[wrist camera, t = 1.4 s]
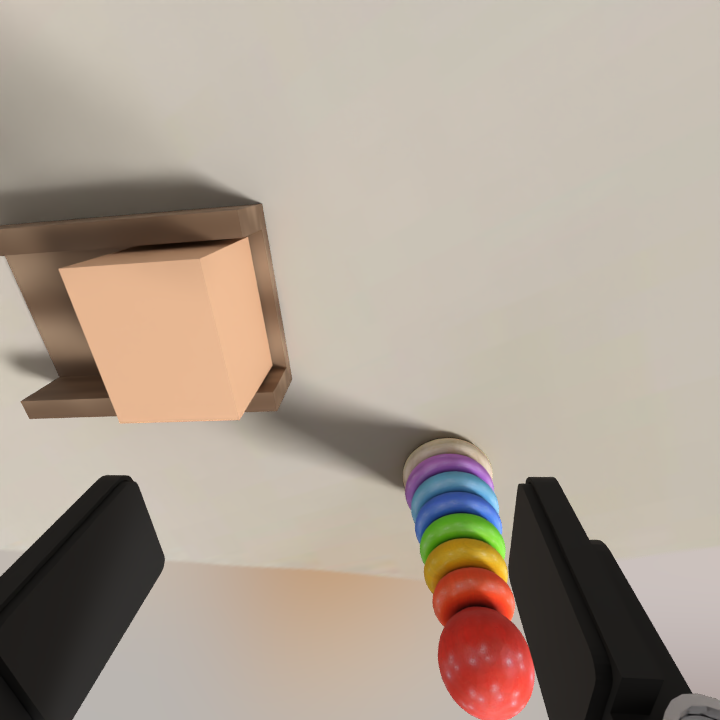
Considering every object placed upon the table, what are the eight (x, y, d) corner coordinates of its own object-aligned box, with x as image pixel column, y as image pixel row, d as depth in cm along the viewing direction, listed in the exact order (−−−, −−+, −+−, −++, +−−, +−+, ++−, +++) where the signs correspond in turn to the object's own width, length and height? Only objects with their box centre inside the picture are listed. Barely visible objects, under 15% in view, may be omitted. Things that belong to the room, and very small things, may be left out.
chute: (4, 225, 30) (-65, 234, 25) (261, 203, 28) (237, 209, 23) (75, 387, 36) (29, 418, 31) (292, 379, 34) (277, 411, 29)
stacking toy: (498, 490, 38) (587, 750, 21) (417, 509, 39) (438, 764, 22) (477, 423, 35) (560, 664, 18) (390, 447, 36) (390, 687, 19)
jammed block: (140, 244, 29) (58, 268, 22) (248, 236, 28) (199, 258, 21) (178, 369, 33) (119, 423, 26) (272, 365, 32) (239, 419, 25)
